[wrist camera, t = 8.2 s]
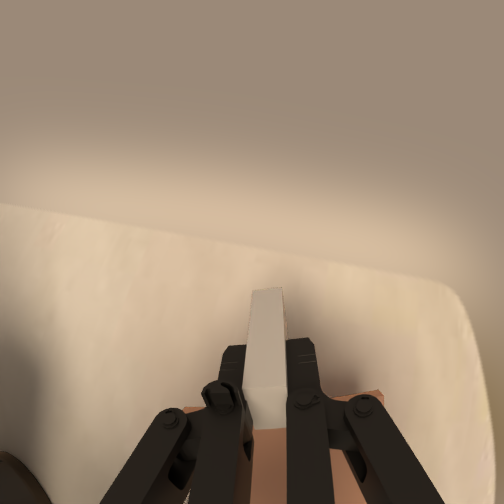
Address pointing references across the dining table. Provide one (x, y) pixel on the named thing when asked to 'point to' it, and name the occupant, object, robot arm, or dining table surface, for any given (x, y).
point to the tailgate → (275, 466)
